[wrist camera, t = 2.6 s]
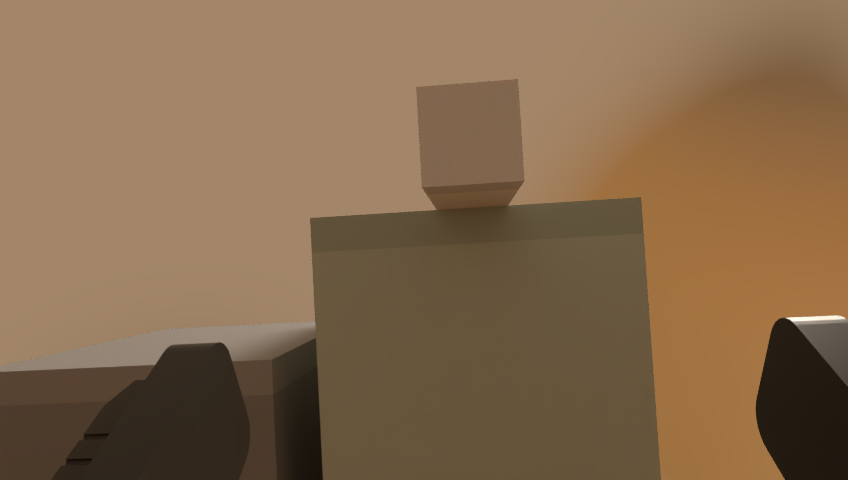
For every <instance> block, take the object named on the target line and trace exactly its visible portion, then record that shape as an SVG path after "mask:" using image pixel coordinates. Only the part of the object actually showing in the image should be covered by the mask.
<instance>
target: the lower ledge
mask: <svg viewBox="0 0 848 480" xmlns="http://www.w3.org/2000/svg"><path fill="white" fill-rule="evenodd" d="M218 342H221V343H223V344H224V345H225V346H226V347H227V349H228V350H229V353H230V356H231V359H232V363H233V366H234V370H235V373H236V376H237V380H238V383H239V387H240V390H241V393H242V397H243V400H244V404H245V407H246V410H247V414H248V418H249V423H250V444H249V451H248V455H247V459H246V462H245V464H244V467H243V470H242V472H241V475H240V478H239V480H323V470H322V449H321V429H320V408H319V388H318V367H317V347H316V326H315V322H300V323H299V322H298V323H278V324H258V325H237V326H219V327H218V326H217V327H197V328H178V329H164V330H160V331H155V332H151V333H146V334H142V335H138V336H133V337H128V338H124V339H119V340H115V341H110V342H106V343H101V344H97V345H92V346H88V347H84V348H79V349H74V350H70V351H65V352H61V353H56V354H52V355H47V356H43V357H39V358H34V359H29V360H25V361H20V362H16V363H11V364H7V365H2V366H0V480H51V479H52V478H53V476H54V475H55V473H56V472H57V471H58V469H59V468H60V466H65V464H66V458H67V457H68V455H69V454H70V453H71V451H72V450H73V448H74V447H75V446H76V444H77V443H78V441H79V440H83V439H84V435H83V434H84V433H85V432H86V430H87V429H88V427H89V426H90V425H91V423H92V422H93V420H94V419H95V418H96V416H97V415H98V413H99V412H100V411H101V409H102V408H103V406H104V405H105V404H106V403H108V402H109V401H110V400H111V399H113V398H114V397H115V396H116V395H118V394H119V393H120V392H121V391H122V390H124V389H125V388H126V387H127V386H129V385H130V384H131V383H132V382H134V381H135V380H145V379H146V378H147V376H148V375H149V373H150V372H151V370H152V369H153V367H154V366H155V364H156V363H157V361H158V360H159V358H160V357H161V355H162V354H163V352H164V351H165V350H166V349H167V348H168V347H169V346H171V345H175V344H196V343H218Z"/></svg>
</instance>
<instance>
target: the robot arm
mask: <svg viewBox="0 0 848 480" xmlns="http://www.w3.org/2000/svg"><path fill="white" fill-rule="evenodd" d="M756 418H757V424H758V428H759V432H760V435H761V438H762V440H763V443H764V445H765V446H766V448H767V450H768V452H769V453H770V455H771V457H772V458H773V460H774V462H775V463H776V465H777V467H778V468H779V470H780V472H781V473H782V475H783V477H784V478H785V480H848V320H847V319H846V318H844V317H842V316H817V317H816V316H814V317H792V318H781V319H779V320H777V321H776V322H775V324H774V326H773V328H772V331H771V335H770V340H769V344H768V349H767V353H766V358H765V363H764V367H763V372H762V377H761V381H760V386H759V391H758V396H757V400H756ZM83 435H84V439H83V440H79V441H78V443H77V444H76V446H75V447H74V448H73V450H72V451H71V453H70V454H69V455H68V457H67V458H66V464H65V466H60V468H59V469H58V471H57V472H56V473H55V475H54V476H53V478H52V479H51V480H239V478H240V475H241V472H242V470H243V467H244V464H245V462H246V459H247V455H248V451H249V444H250V423H249V418H248V414H247V410H246V407H245V404H244V400H243V397H242V393H241V390H240V387H239V383H238V380H237V376H236V373H235V370H234V366H233V363H232V359H231V356H230V353H229V350H228V349H227V347H226V346H225V345H224V344H223V343H221V342H218V343H196V344H175V345H171V346H169V347H168V348H167V349H166V350H165V351H164V352H163V354H162V355H161V357H160V358H159V360H158V361H157V363H156V364H155V366H154V367H153V369H152V370H151V372H150V373H149V375H148V376H147V378H146V379H145V380H135V381H134V382H132V383H131V384H130V385H129V386H127V387H126V388H125V389H124V390H122V391H121V392H120V393H119V394H118V395H116V396H115V397H114V398H113V399H111V400H110V401H109V402H108V403H106V404H105V405H104V406H103V408H102V409H101V411H100V412H99V413H98V415H97V416H96V418H95V419H94V420H93V422H92V423H91V425H90V426H89V427H88V429H87V430H86V432H85V433H84V434H83Z"/></svg>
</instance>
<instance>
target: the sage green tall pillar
mask: <svg viewBox="0 0 848 480" xmlns="http://www.w3.org/2000/svg"><path fill="white" fill-rule="evenodd" d="M310 224H311V243H312V264H313V285H314V306H315V326H316V347H317V367H318V388H319V408H320V429H321V449H322V470H323V480H661V477H660V476H661V475H660V462H659V447H658V434H657V433H658V432H657V419H656V404H655V389H654V375H653V361H652V348H651V333H650V319H649V304H648V290H647V277H646V262H645V247H644V233H643V219H642V205H641V198H640V197H639V198H625V199H624V198H623V199H608V200H591V201H575V202H560V203H543V204H527V205H512V206H495V207H479V208H463V209H447V210H433V211H432V210H431V211H418V212H417V211H415V212H400V213H384V214H369V215H352V216H336V217H320V218H310Z"/></svg>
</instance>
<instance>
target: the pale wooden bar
mask: <svg viewBox="0 0 848 480" xmlns="http://www.w3.org/2000/svg"><path fill="white" fill-rule="evenodd" d="M416 90H417V108H418V125H419V142H420V143H419V144H420V161H421V177H422V178H421V179H422V188H423V190H424V191H425V193H426V194H427V196H428V197H429V199H430V200H431V202H432V203H433V205H434V206H435V208H436V209H437V210H447V209H463V208H479V207H495V206H508V205H509V203H510V202H511V200H512V199H513V197H514V196H515V194H516V193H517V191H518V190H519V188H520V187H521V185H522V183H523V182H524V168H523V152H522V136H521V120H520V106H519V105H520V104H519V88H518V79H514V80H501V81H488V82H475V83H462V84H449V85H437V86H425V87H416Z"/></svg>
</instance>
